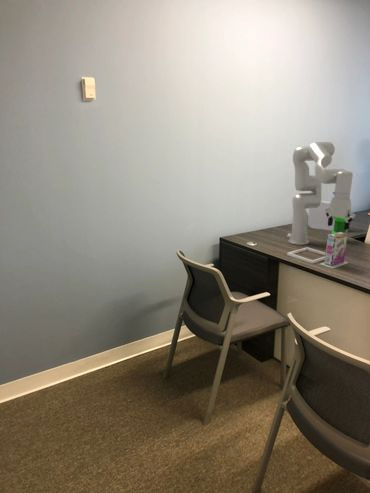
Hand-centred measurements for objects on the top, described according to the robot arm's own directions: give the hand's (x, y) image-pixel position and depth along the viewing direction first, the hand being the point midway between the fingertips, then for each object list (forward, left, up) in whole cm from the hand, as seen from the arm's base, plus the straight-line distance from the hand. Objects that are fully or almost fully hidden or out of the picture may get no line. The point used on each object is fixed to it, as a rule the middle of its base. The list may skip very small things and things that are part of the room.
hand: (337, 227), depth 201 cm
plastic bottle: (-25, +41, -21) cm, 52 cm away
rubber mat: (0, 0, -20) cm, 20 cm away
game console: (-47, +60, -21) cm, 79 cm away
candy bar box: (0, 0, -20) cm, 20 cm away
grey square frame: (-16, 0, -20) cm, 26 cm away
